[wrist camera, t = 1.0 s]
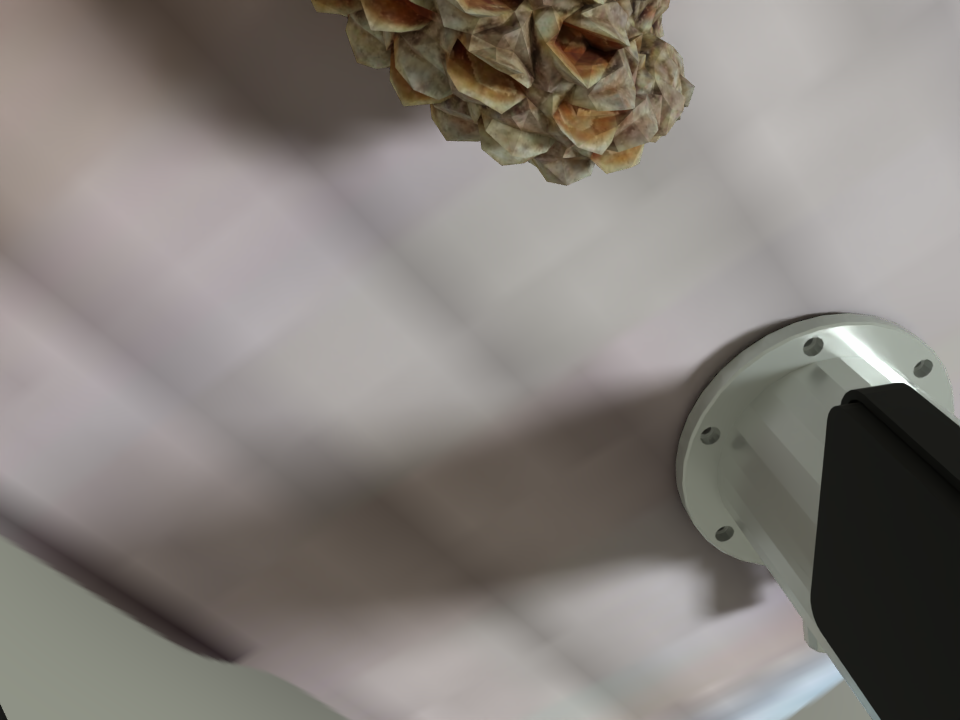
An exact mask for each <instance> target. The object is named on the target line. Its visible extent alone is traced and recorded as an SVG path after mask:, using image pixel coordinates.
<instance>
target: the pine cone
mask: <svg viewBox="0 0 960 720" xmlns="http://www.w3.org/2000/svg"><path fill="white" fill-rule="evenodd" d="M311 2H312V4H313V6H314V8H315V10H316V11H317V12H320V13H331V14H340V15H342V16H345V17H348V22H347V26H346V29H345V31H346V33H347V36H348V39H349V42H350V45H351V47H352V50H353V53H354V56H355V59H356V61H357V63H360V64H363V65H366V66H369V67H372V68H375V69H380V68H386V67H390V82H391V84H392V86H393V88H394V90H395V91H396V93H397V95H398V97H399V99H400V101H401V103H402V105H403V106H413V105H424V104H430V108H431V116H432V119H433V121H434V122H435V124H436V126H437V127H438V129H439V130H440V132H441V133H442V135H443V136H444V138H445V139H446V141H481V148H482V150H483V151H485V152H486V153H487V154H488V155H490V156H491V157H492V158H493V159H494V160H496V161H497V162H498V163H499V164H500V165H502V166H503V165H512V164H521V163H525V162H527V161H528V162H529V163H531V164H533V165H534V166H536V167H537V168H538V169H539V171H540V172H541V174H542V175H543V177H544V178H545V180H546V181H547V182H552V183H556V184H561V185H566V186H567V185H569V184H572V183H574V182H576V181H579V180H581V179H583V178H585V177H588V176H590V175H591V173H592V170H593V168H594V165H595V164H596V165H597V166H599V167H600V168H601V169H602V170H603V171H604V172H605V173H606V174H608V173H612V172H616V171H619V170H623V169H627V168H631V167H633V166H635V165H637V164H639V163H640V159H641V155H642V151H643V147H644V144H645V143H648V142H654V143H655V142H656V141H657V140H658V139H659V138H660V137H661V136H666V134H667V133H668V132H669V130H670V129H671V127H672V126H673V125H674V123H675V122H676V121H677V120H680V116H681V113H682V112H683V109H684V107H688V105H689V102H690V99H691V96H692V93H693V90H694V87H695V86H694V85H692V84H691V83H690V82H689V81H688V80H687V79H685V76H684V67H683V58H682V57H681V56H680V55H679V54H678V52H677V51H676V50H675V49H674V47H673V46H671V45H670V44H668V43H666V42H665V41H663V40H661V39H660V38H661V37H662V36H664V33H663V28H662V24H661V21H662V14H663V13H664V12H665V11H666V9H667V8H668V7H669V2H670V0H311Z"/></svg>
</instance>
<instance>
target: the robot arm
mask: <svg viewBox="0 0 960 720" xmlns="http://www.w3.org/2000/svg"><path fill="white" fill-rule="evenodd" d="M954 410H955V409H954V399H953V388H952V385H951V382H950V379H949V377H948V374H947V371H946V368H945V367H944V365H943V364H942V362H941V361H940V359H939V358H938V356H937V355H936V354H935V352H934V351H933V350H932V349H931V348H930V347H929V346H927V345H926V344H925V343H924V342H923V341H921V340H920V339H919V338H918V337H916V336H915V335H914V334H912V333H910V332H909V331H907V330H906V329H904V328H903V327H901V326H899V325H898V324H896V323H894V322H891V321H888V320H885V319H882V318H879V317H876V316H871V315H861V314H852V313H845V314H834V315H822V316H818V317H815V318H811V319H807V320H803V321H800V322H796V323H793V324H791V325H789V326H786V327H784V328H782V329H780V330H777V331H775V332H773V333H771V334H769V335H767V336H765V337H764V338H762V339H761V340H759V341H757V342H756V343H754V344H753V345H751V346H750V347H748V348H747V349H745V350H743V351H742V352H741V353H740V354H739V355H738V356H736V357H735V358H734V359H733V360H732V361H731V362H730V363H729V364H727V365H726V366H725V367H724V368H723V369H722V370H721V371H720V372H719V373H718V374H717V375H716V377H715V378H714V379H713V380H712V381H711V383H710V384H709V385H708V386H707V387H706V389H705V390H704V391H703V392H702V394H701V395H700V397H699V399H698V400H697V402H696V404H695V406H694V407H693V409H692V411H691V412H690V414H689V416H688V418H687V421H686V423H685V426H684V429H683V431H682V434H681V437H680V440H679V445H678V451H677V457H676V482H677V488H678V491H679V495H680V498H681V501H682V505H683V506H684V508H685V510H686V512H687V513H688V515H689V517H690V519H691V520H692V522H693V524H694V525H695V527H696V528H697V529H698V530H699V532H700V533H701V534H702V535H703V537H704V538H705V539H706V540H707V541H708V542H709V543H711V544H712V545H713V546H715V547H716V548H717V549H719V550H720V551H721V552H723V553H725V554H727V555H729V556H732V557H734V558H736V559H738V560H741V561H744V562H749V563H754V564H758V565H765V566H766V567H767V568H768V570H769V571H770V573H771V574H772V576H773V577H774V579H775V580H776V581H777V583H778V584H779V586H780V587H781V589H782V590H783V592H784V593H785V594H786V596H787V597H788V599H789V600H790V602H791V603H792V605H793V606H794V607H795V609H796V610H797V612H798V613H799V615H800V616H801V618H802V620H803V630H804V640H805V641H806V643H807V644H808V646H809V647H810V648H812V649H814V650H816V651H817V652H822V653H826V654H827V655H828V657H829V658H830V659H831V661H832V662H833V664H834V665H835V667H836V668H837V670H838V671H839V672H840V674H841V675H842V677H843V678H844V680H845V681H846V682H847V684H848V685H849V687H850V688H851V690H852V691H853V692H854V694H855V695H856V697H857V698H858V700H859V701H860V702H861V704H862V705H863V707H864V708H865V710H866V711H867V713H868V714H869V716H870V717H871V719H872V720H960V420H959V419H958V418H957V417H956V416H954ZM0 720H7V718H6V716H5V713H4V711H3V709H2V707H1V705H0Z"/></svg>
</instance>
